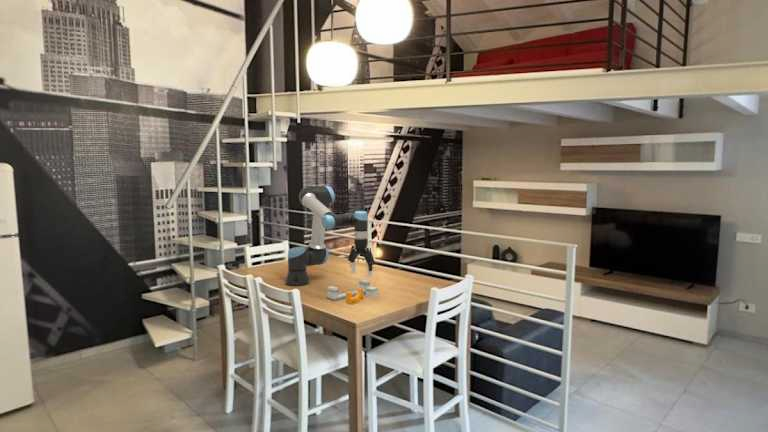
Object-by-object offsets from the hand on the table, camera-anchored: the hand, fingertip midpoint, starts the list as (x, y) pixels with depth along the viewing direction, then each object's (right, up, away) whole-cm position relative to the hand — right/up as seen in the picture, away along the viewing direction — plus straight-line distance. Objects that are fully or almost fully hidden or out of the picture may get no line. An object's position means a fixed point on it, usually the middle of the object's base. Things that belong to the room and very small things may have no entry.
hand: (361, 275), depth 283 cm
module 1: (-16, -14, +1) cm, 22 cm away
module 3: (+6, -14, +9) cm, 17 cm away
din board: (-8, -13, +10) cm, 18 cm away
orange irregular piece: (-3, -15, -4) cm, 16 cm away
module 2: (+1, -13, +19) cm, 23 cm away
